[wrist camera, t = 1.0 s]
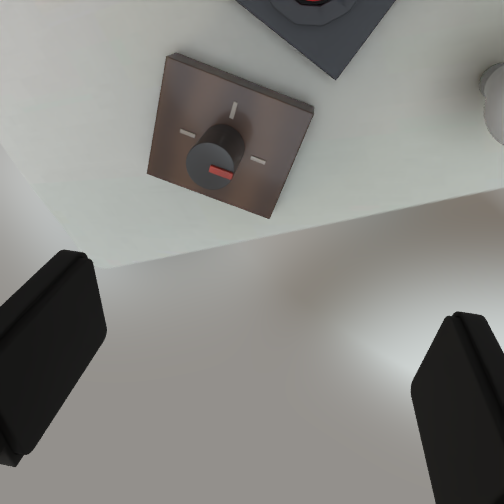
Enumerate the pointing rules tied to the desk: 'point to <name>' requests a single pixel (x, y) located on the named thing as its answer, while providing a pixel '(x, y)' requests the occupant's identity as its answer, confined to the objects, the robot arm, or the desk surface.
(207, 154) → the dimmer knob
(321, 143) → the desk surface
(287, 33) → the switch box
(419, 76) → the desk surface
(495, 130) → the lightbulb
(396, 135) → the desk surface
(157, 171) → the dimmer panel
